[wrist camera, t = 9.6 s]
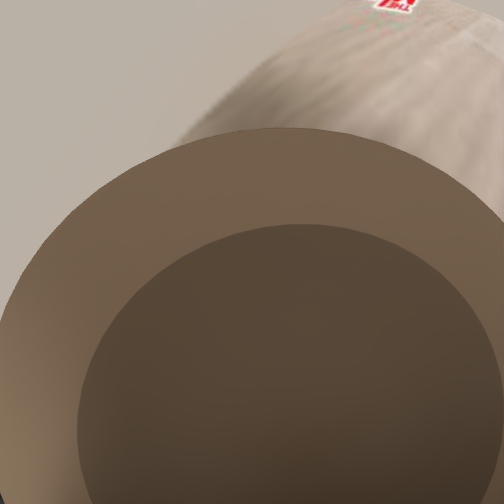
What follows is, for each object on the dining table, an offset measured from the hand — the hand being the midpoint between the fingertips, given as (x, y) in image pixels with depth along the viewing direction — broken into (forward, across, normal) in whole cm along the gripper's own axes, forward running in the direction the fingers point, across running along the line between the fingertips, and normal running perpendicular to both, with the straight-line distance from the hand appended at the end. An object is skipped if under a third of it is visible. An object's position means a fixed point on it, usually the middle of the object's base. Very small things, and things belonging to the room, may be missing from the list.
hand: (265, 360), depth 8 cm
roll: (+4, 0, +6) cm, 7 cm away
